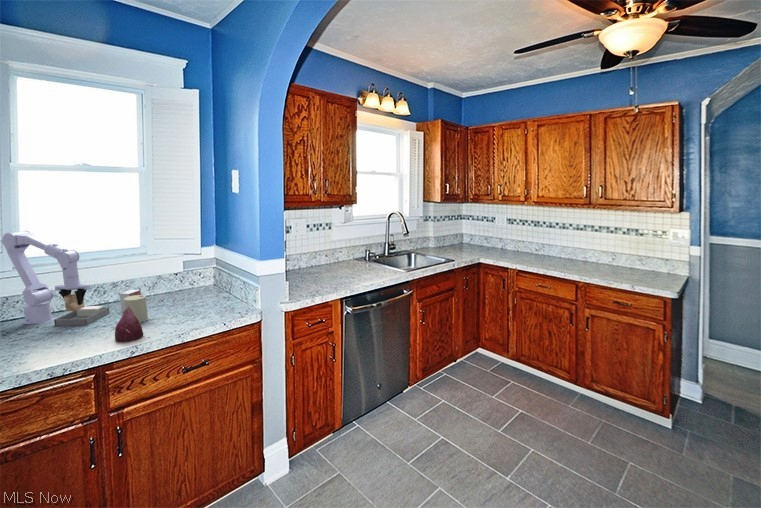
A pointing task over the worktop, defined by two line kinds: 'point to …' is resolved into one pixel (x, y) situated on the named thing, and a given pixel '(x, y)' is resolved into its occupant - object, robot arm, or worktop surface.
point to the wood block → (72, 303)
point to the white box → (88, 311)
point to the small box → (127, 294)
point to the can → (137, 306)
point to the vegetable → (128, 327)
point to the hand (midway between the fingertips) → (74, 304)
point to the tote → (79, 318)
